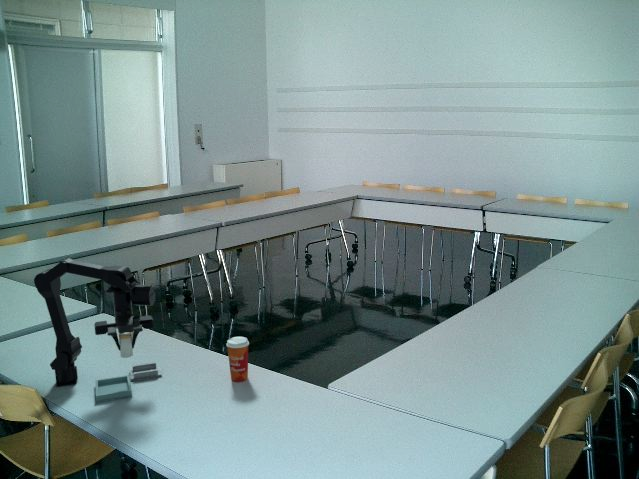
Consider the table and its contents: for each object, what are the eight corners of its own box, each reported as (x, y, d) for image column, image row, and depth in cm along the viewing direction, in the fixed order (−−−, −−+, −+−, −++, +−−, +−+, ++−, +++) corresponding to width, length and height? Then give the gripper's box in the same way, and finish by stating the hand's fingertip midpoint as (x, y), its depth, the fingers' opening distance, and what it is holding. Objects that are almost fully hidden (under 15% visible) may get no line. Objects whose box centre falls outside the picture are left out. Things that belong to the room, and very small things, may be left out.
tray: (96, 402, 206) (95, 396, 205) (95, 386, 218) (95, 380, 217) (132, 396, 209) (131, 390, 209) (129, 380, 221) (129, 374, 221)
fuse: (120, 358, 215) (119, 335, 213) (119, 354, 219) (118, 331, 217) (133, 356, 216) (132, 334, 215) (132, 352, 220) (130, 330, 218)
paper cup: (223, 381, 219) (221, 342, 217) (236, 372, 226) (234, 334, 223) (242, 385, 216) (240, 345, 213) (255, 376, 223) (253, 338, 220)
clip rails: (130, 381, 221) (130, 374, 220) (129, 372, 228) (128, 365, 228) (161, 376, 224) (161, 369, 224) (159, 368, 231) (158, 361, 231)
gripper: (94, 315, 203) (98, 362, 206) (154, 308, 210) (157, 353, 213) (92, 305, 213) (96, 349, 217) (150, 298, 220) (153, 342, 223)
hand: (126, 349), depth 217 cm, fingers closed on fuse, 4 cm apart
